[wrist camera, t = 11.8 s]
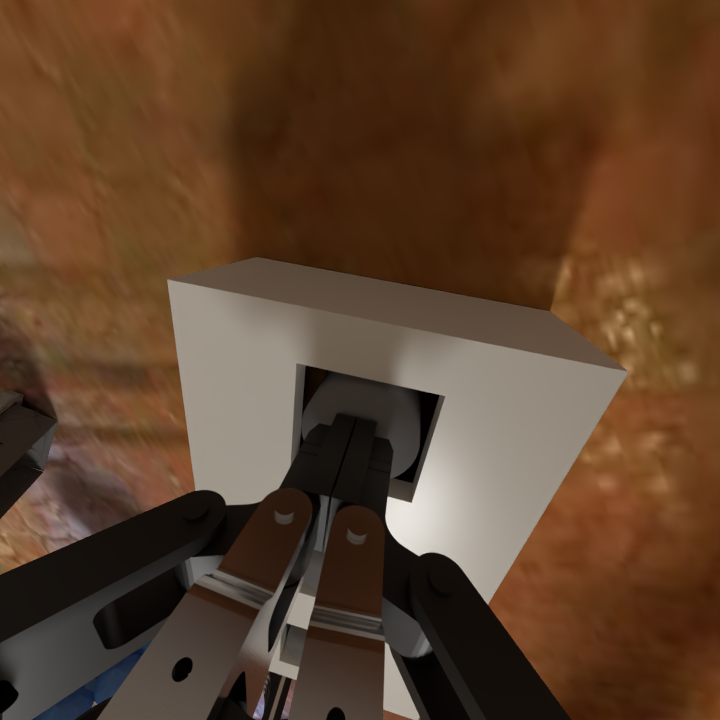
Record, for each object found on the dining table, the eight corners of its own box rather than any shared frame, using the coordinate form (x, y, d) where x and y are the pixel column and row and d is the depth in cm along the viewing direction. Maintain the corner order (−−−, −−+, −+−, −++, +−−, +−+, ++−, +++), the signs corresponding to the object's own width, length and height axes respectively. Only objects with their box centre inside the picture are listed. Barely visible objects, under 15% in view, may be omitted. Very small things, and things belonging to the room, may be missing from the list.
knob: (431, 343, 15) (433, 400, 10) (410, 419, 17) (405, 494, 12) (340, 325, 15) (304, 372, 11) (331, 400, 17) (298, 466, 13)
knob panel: (550, 311, 14) (628, 371, 9) (419, 614, 25) (417, 720, 20) (256, 256, 15) (166, 279, 10) (258, 566, 27) (217, 653, 22)
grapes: (105, 579, 34) (-43, 749, 23) (89, 540, 31) (-90, 714, 20) (204, 610, 32) (95, 805, 22) (197, 573, 29) (67, 777, 19)
